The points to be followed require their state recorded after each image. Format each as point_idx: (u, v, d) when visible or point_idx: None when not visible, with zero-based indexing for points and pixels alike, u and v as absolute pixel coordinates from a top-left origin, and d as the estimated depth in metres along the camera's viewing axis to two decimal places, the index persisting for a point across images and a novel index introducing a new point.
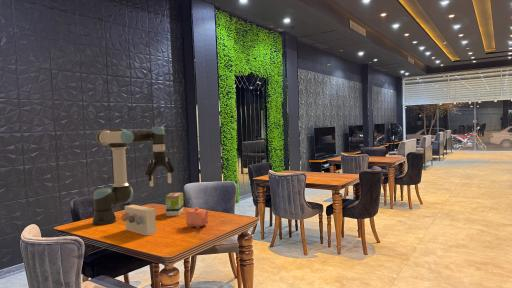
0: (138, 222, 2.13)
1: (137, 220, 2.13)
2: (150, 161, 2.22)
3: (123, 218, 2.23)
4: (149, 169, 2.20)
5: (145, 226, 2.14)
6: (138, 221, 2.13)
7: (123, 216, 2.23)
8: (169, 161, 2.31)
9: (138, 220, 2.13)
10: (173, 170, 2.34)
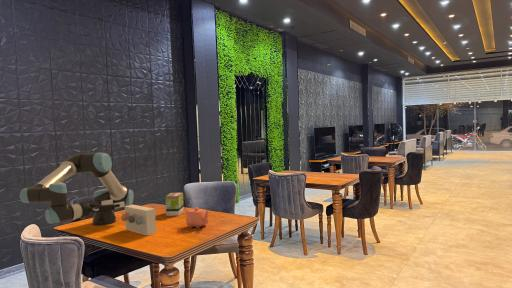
0: (138, 222, 2.13)
1: (137, 220, 2.13)
2: None
3: (123, 218, 2.23)
4: None
5: (145, 226, 2.14)
6: (138, 221, 2.13)
7: (123, 216, 2.23)
8: (99, 211, 1.89)
9: (138, 220, 2.13)
10: (113, 209, 1.92)
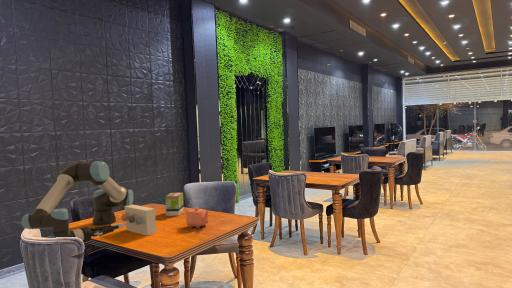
0: (138, 222, 2.13)
1: (137, 220, 2.13)
2: None
3: (123, 218, 2.23)
4: None
5: (145, 226, 2.14)
6: (138, 221, 2.13)
7: (123, 216, 2.23)
8: (102, 234, 1.91)
9: (138, 220, 2.13)
10: (112, 231, 1.98)
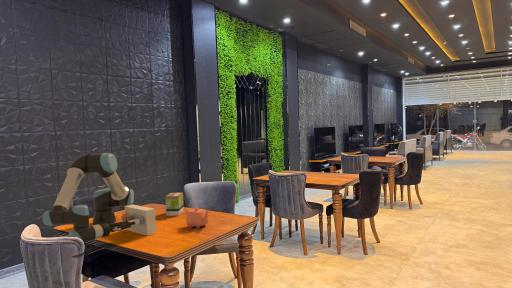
0: None
1: None
2: None
3: (123, 218, 2.23)
4: None
5: (145, 226, 2.14)
6: None
7: (123, 216, 2.23)
8: (120, 230, 1.99)
9: None
10: None
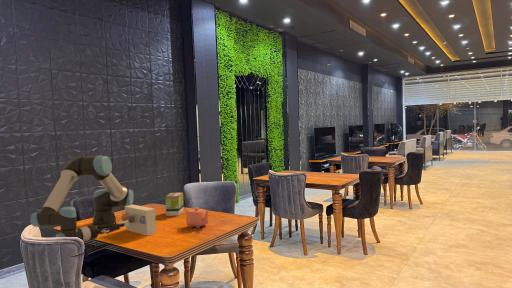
0: (142, 221, 2.15)
1: (141, 219, 2.15)
2: None
3: (123, 218, 2.23)
4: None
5: (145, 226, 2.14)
6: (142, 220, 2.15)
7: (123, 216, 2.23)
8: None
9: (142, 219, 2.15)
10: (118, 229, 2.03)
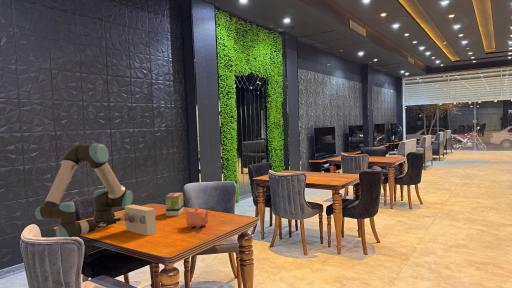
0: (142, 221, 2.15)
1: (141, 219, 2.15)
2: None
3: None
4: None
5: (145, 226, 2.14)
6: (142, 220, 2.15)
7: None
8: None
9: (142, 219, 2.15)
10: (114, 223, 2.16)
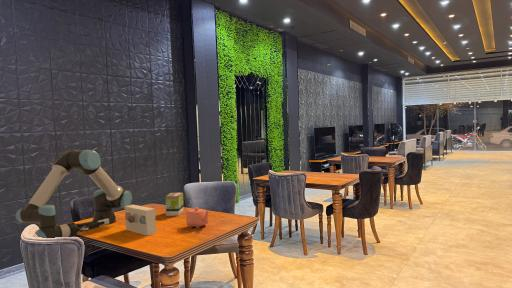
0: (142, 221, 2.15)
1: (141, 219, 2.15)
2: None
3: (127, 217, 2.25)
4: None
5: (145, 226, 2.14)
6: (142, 220, 2.15)
7: (127, 215, 2.25)
8: None
9: (142, 219, 2.15)
10: None
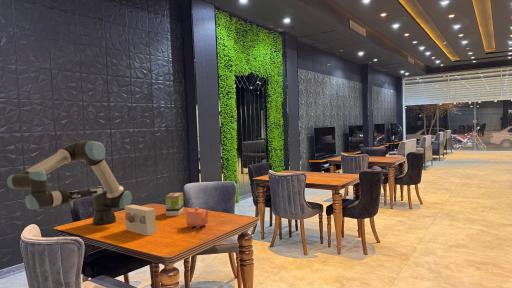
0: (142, 221, 2.15)
1: (141, 219, 2.15)
2: None
3: (127, 217, 2.25)
4: None
5: (145, 226, 2.14)
6: (142, 220, 2.15)
7: (127, 215, 2.25)
8: (80, 197, 1.98)
9: (142, 219, 2.15)
10: (90, 195, 2.05)
